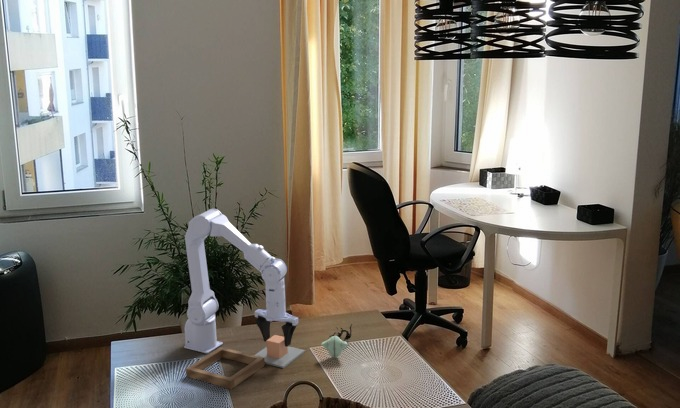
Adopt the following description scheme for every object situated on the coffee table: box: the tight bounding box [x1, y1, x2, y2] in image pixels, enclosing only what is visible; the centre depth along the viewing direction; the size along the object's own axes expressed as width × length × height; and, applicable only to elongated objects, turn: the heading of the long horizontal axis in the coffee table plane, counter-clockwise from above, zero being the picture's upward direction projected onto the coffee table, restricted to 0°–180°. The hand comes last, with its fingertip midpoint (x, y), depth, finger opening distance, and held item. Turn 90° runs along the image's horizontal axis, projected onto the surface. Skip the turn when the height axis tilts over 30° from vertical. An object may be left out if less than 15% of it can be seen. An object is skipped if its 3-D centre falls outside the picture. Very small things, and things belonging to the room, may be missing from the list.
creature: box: [327, 323, 353, 342], centre depth 216 cm, size 8×5×8 cm
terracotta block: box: [266, 334, 288, 359], centre depth 206 cm, size 4×4×5 cm
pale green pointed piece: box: [320, 335, 348, 359], centre depth 205 cm, size 8×4×7 cm, turn 86°
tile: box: [254, 345, 306, 369], centre depth 207 cm, size 12×12×1 cm
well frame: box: [185, 346, 266, 390], centre depth 198 cm, size 16×16×2 cm
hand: (277, 342), depth 206 cm, fingers open, 7 cm apart
